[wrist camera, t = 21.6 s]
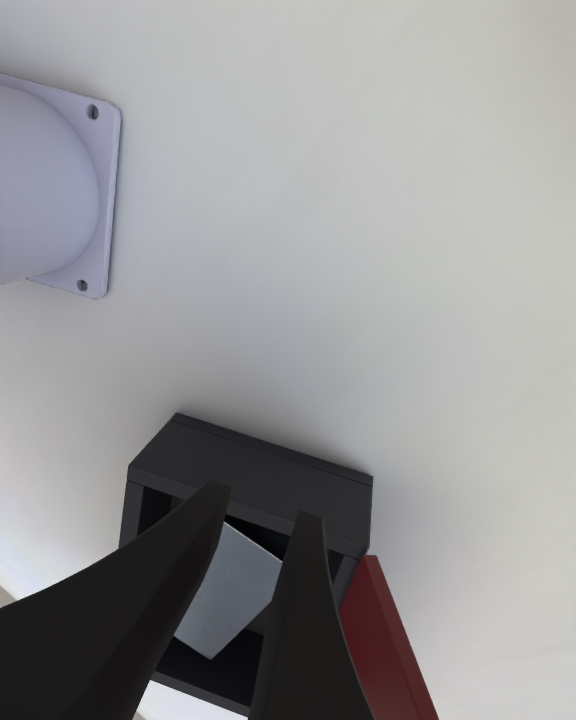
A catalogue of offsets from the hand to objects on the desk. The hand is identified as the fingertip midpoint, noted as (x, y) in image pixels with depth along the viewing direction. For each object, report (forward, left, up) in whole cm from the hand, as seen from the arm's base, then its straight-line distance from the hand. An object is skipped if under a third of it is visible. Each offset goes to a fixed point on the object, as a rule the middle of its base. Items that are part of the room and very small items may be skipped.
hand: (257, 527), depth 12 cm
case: (-1, -10, -9) cm, 14 cm away
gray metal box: (-2, -10, -9) cm, 13 cm away
